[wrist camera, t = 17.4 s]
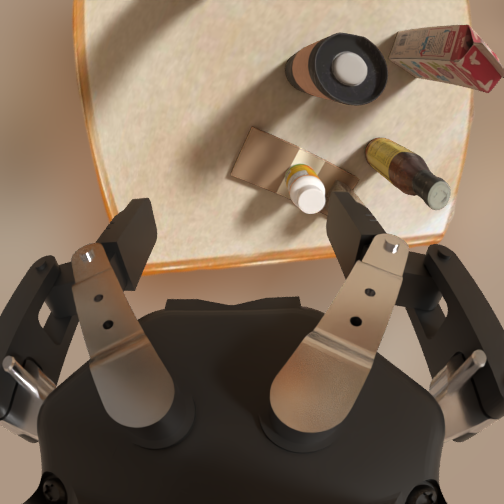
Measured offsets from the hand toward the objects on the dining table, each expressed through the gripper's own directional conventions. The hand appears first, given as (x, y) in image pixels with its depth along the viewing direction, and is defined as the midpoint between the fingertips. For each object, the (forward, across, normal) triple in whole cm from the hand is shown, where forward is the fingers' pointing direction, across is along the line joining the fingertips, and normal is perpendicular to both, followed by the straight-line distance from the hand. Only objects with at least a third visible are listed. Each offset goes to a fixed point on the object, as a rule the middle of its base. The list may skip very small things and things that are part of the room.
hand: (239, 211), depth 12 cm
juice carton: (+34, -29, -14) cm, 47 cm away
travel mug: (+34, -10, -7) cm, 37 cm away
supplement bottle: (+33, -9, +11) cm, 36 cm away
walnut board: (+34, -9, +11) cm, 37 cm away
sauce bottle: (+34, -24, +6) cm, 42 cm away
